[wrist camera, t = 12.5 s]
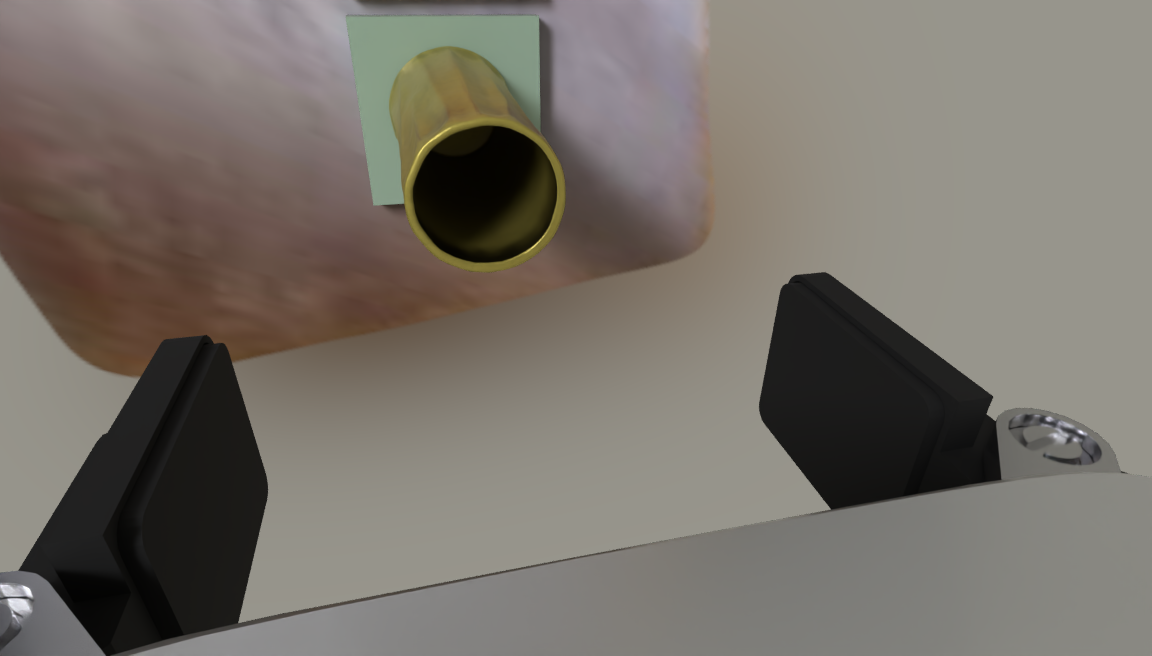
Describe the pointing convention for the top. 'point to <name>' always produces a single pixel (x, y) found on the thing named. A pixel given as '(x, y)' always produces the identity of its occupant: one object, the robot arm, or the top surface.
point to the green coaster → (401, 37)
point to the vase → (472, 163)
